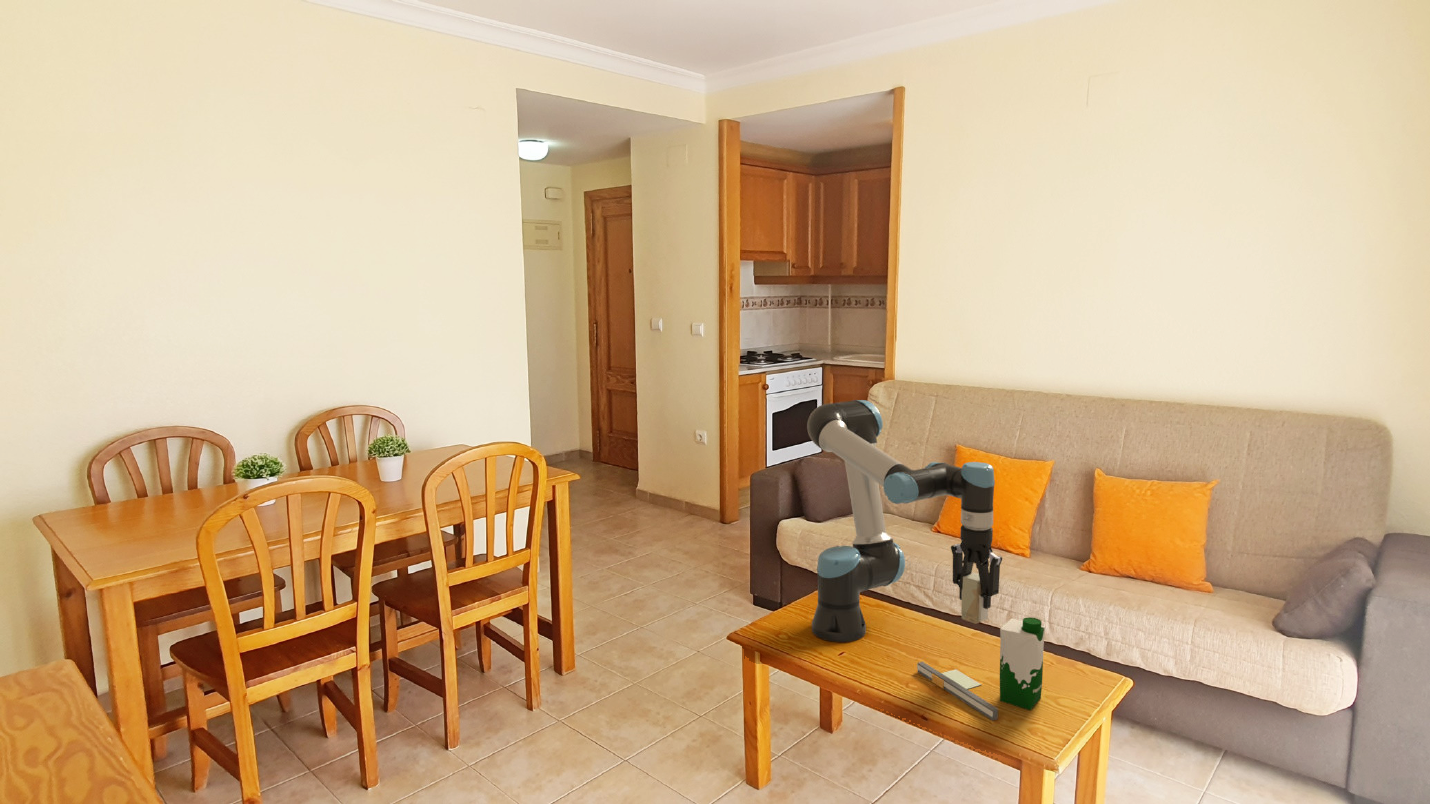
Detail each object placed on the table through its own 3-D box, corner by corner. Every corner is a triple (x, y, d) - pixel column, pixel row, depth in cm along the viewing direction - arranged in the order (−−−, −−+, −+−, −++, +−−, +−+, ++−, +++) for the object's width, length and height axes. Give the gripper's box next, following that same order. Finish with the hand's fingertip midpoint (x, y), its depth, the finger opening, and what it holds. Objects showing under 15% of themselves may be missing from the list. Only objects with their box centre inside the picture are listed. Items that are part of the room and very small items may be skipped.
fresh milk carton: (1033, 713, 185) (1036, 629, 182) (994, 701, 191) (996, 620, 188) (1046, 698, 192) (1049, 617, 189) (1007, 686, 197) (1009, 608, 194)
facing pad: (933, 676, 204) (933, 675, 204) (955, 669, 206) (955, 669, 206) (958, 691, 195) (958, 691, 195) (981, 685, 198) (981, 684, 198)
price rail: (916, 672, 206) (916, 663, 205) (922, 670, 206) (922, 661, 206) (991, 721, 182) (991, 710, 182) (997, 718, 183) (997, 708, 183)
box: (975, 624, 200) (976, 581, 199) (960, 619, 204) (961, 576, 202) (988, 618, 204) (989, 576, 202) (973, 613, 207) (974, 571, 205)
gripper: (938, 520, 205) (936, 609, 208) (998, 537, 191) (995, 632, 194) (957, 515, 209) (955, 602, 213) (1017, 531, 195) (1014, 623, 199)
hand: (974, 616), depth 203 cm, fingers closed on box, 4 cm apart
